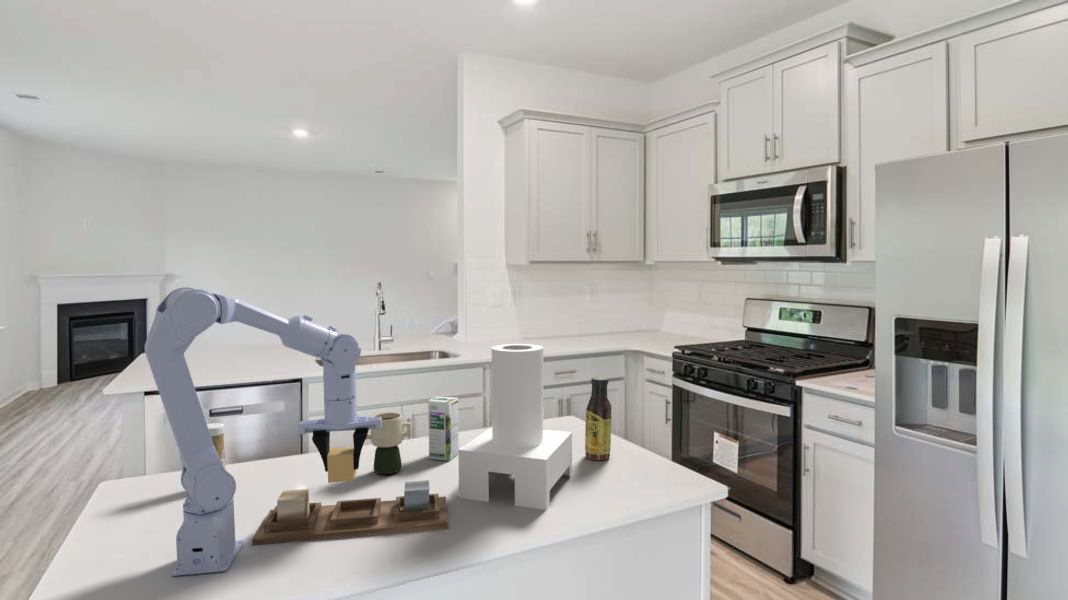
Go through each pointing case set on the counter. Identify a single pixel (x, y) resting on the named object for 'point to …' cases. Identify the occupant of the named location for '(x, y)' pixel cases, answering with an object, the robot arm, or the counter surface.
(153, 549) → the counter surface
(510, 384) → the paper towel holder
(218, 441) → the sprinkles bottle
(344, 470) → the ochre block
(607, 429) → the sauce bottle
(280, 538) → the puzzle board
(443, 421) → the syrup box
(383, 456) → the character mug
